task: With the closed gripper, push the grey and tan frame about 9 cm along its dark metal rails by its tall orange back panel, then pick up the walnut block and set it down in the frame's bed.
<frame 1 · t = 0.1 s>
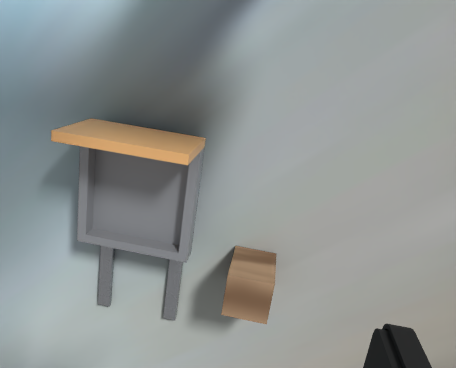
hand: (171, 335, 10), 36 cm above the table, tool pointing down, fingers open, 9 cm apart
walnut block: (252, 267, 50), on the table
rail track: (144, 232, 50), on the table
grey and tan frame: (132, 197, 43), point 5 cm above the table, slide at 0.0 cm
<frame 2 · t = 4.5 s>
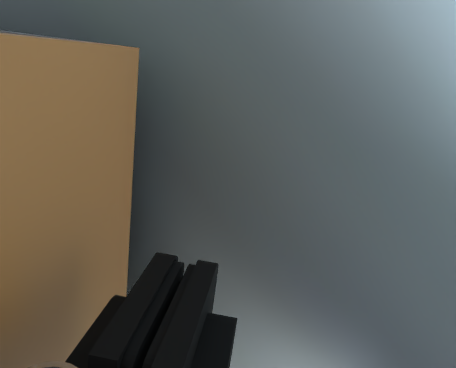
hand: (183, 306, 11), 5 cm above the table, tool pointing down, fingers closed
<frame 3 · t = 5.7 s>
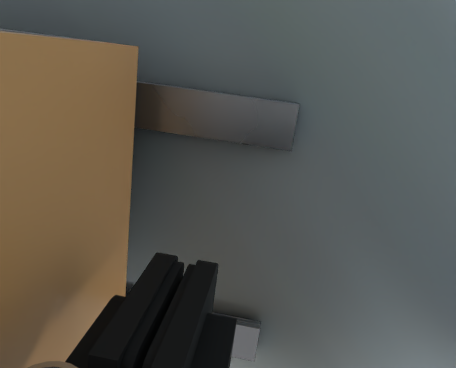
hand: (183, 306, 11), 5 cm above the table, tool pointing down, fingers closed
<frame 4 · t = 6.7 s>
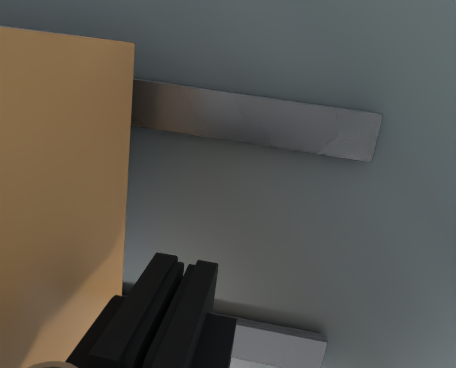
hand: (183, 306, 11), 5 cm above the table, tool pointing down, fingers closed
rail track: (58, 202, 16), on the table
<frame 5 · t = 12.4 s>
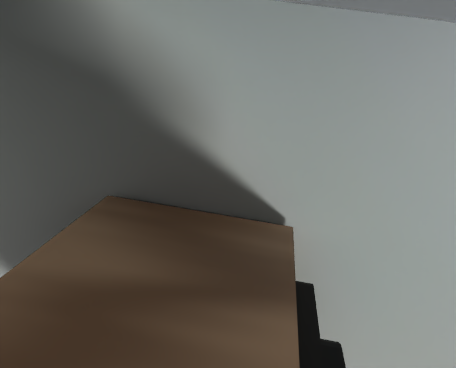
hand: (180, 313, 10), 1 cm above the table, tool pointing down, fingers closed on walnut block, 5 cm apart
walnut block: (189, 292, 11), on the table, touching gripper
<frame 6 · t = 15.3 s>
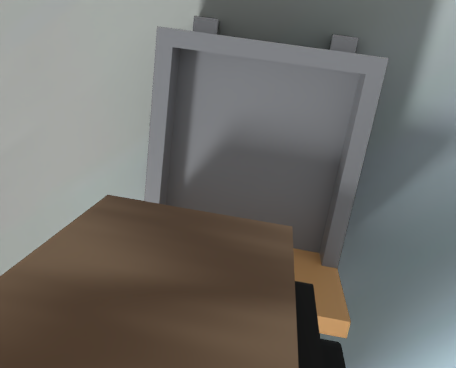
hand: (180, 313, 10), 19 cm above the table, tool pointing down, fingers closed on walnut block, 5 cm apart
walnut block: (188, 291, 11), point 18 cm above the table, touching gripper
rail track: (249, 192, 30), on the table
grey and tan frame: (249, 166, 24), point 5 cm above the table, slide at 9.9 cm
when the fingers open (5 cm above the table, at t = 18.4 s): walnut block drops 2 cm, resting on grey and tan frame.
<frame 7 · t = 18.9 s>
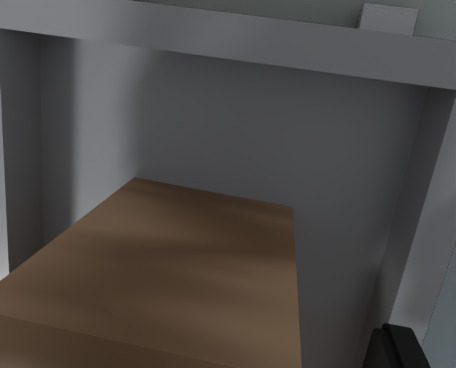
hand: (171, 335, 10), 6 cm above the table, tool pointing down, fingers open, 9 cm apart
walnut block: (201, 263, 13), point 3 cm above the table, touching grey and tan frame
rail track: (206, 296, 17), on the table
grey and tan frame: (182, 299, 10), point 5 cm above the table, slide at 9.9 cm, touching walnut block
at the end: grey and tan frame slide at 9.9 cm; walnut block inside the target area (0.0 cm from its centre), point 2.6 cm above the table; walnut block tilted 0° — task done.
